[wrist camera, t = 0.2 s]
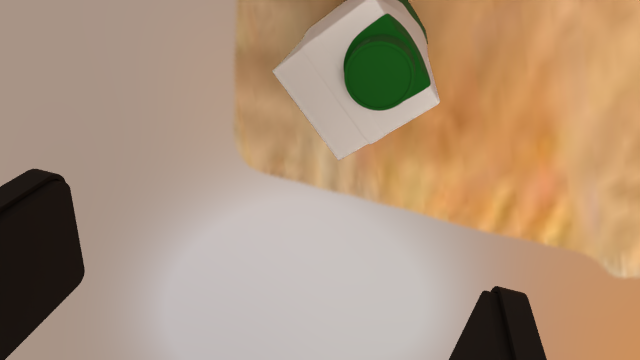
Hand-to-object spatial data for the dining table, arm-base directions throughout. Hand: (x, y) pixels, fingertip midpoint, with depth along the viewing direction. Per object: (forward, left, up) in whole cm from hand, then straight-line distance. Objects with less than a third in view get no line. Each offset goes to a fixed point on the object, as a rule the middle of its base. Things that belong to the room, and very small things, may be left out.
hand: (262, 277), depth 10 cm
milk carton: (+1, -1, -37) cm, 37 cm away
